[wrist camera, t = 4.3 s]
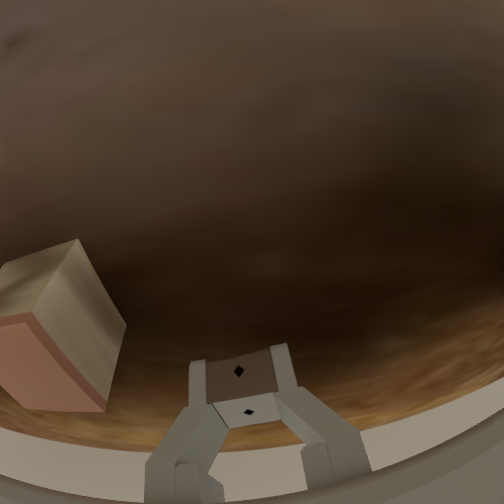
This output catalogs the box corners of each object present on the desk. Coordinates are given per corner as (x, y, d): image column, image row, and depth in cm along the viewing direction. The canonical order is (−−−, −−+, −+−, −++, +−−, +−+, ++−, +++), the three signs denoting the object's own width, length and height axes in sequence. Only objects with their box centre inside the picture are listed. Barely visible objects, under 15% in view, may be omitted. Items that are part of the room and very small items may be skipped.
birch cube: (78, 237, 14) (25, 322, 9) (126, 324, 17) (105, 412, 12) (5, 262, 14) (-46, 333, 9) (54, 334, 17) (24, 408, 12)
